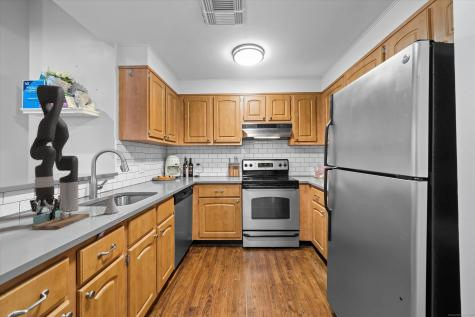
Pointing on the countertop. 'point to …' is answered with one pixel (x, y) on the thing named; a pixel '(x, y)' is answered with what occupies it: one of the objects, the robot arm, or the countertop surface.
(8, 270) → the countertop surface
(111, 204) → the flask
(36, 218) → the teal slotted block
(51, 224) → the jig
